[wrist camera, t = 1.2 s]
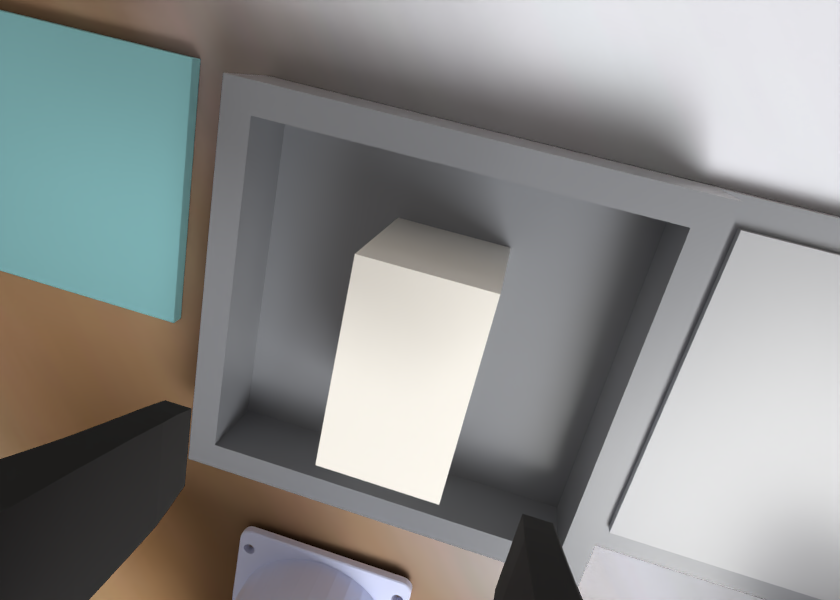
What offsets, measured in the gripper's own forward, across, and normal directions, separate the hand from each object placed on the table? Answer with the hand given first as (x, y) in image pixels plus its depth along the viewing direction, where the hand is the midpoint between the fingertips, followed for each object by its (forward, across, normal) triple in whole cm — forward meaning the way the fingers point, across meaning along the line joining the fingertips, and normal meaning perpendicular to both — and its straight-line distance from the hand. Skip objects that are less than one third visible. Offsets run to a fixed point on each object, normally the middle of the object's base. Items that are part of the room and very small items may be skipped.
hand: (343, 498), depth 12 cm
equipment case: (+10, -8, 0) cm, 13 cm away
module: (+10, 0, 0) cm, 10 cm away
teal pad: (+10, +15, -2) cm, 18 cm away
